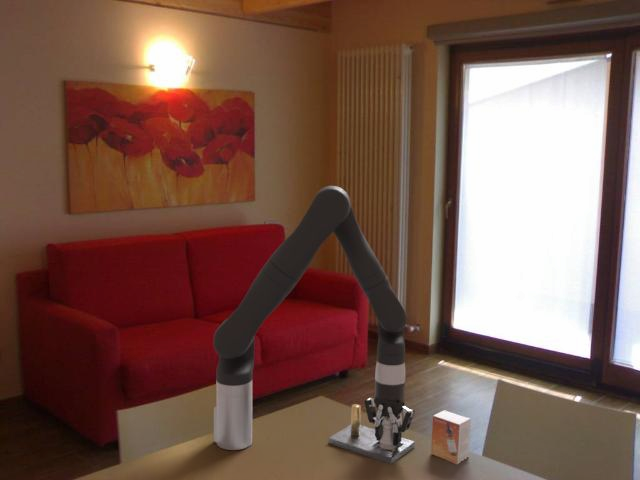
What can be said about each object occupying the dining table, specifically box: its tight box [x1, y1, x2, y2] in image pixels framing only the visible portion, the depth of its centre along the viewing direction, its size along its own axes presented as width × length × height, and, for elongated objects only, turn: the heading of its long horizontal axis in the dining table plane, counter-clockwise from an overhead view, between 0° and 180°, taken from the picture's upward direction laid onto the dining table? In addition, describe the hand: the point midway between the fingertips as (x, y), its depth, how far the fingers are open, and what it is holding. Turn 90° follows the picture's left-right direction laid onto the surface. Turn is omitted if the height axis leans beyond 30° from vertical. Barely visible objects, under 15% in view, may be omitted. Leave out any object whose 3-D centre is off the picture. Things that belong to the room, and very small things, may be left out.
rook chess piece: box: [379, 417, 397, 451], centre depth 176 cm, size 4×4×8 cm
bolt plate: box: [328, 403, 416, 465], centre depth 179 cm, size 19×12×10 cm, turn 54°
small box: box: [430, 409, 472, 465], centre depth 174 cm, size 8×6×10 cm
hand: (388, 441), depth 177 cm, fingers closed on rook chess piece, 4 cm apart
